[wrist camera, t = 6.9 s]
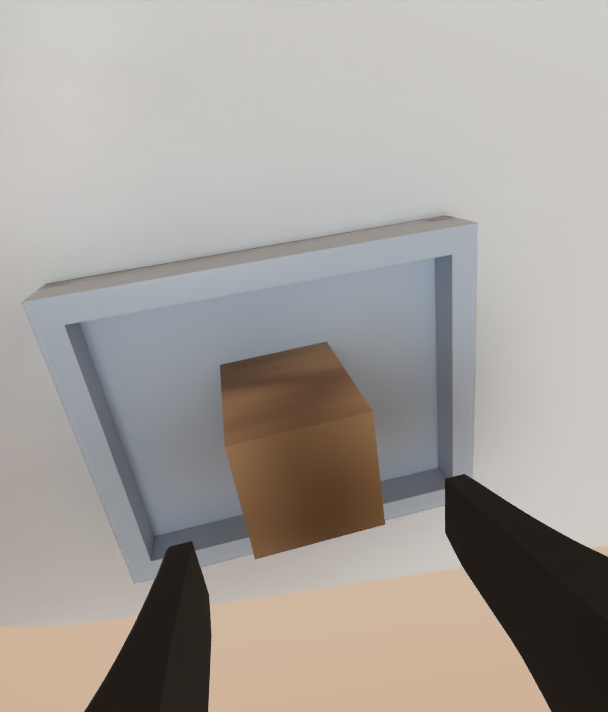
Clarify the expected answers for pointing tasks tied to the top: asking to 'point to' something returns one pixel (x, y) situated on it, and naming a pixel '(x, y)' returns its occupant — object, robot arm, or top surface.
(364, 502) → the walnut block
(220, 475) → the tray
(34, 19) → the top surface
